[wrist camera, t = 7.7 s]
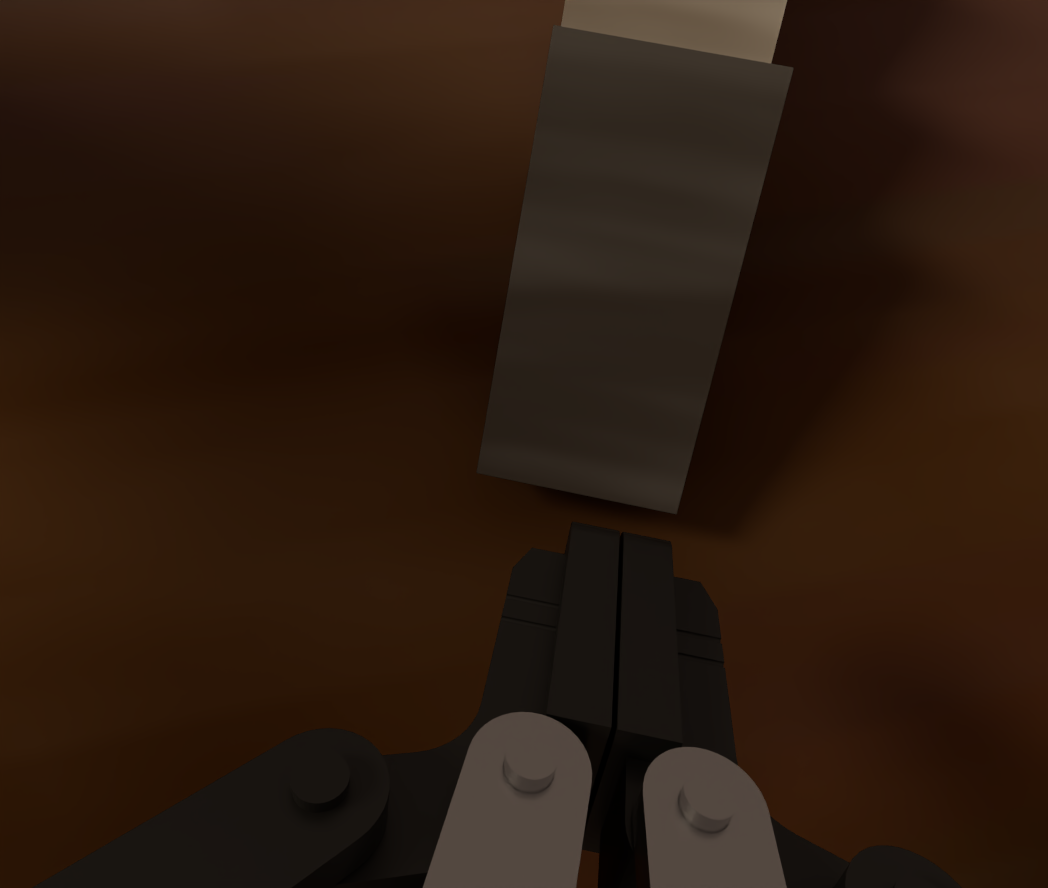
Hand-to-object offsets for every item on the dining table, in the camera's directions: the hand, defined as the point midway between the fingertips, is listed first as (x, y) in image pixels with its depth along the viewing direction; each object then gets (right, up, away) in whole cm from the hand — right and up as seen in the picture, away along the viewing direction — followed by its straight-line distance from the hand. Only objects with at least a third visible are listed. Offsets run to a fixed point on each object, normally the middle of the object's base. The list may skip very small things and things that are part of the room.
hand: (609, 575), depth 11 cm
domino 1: (0, +1, +8) cm, 8 cm away
